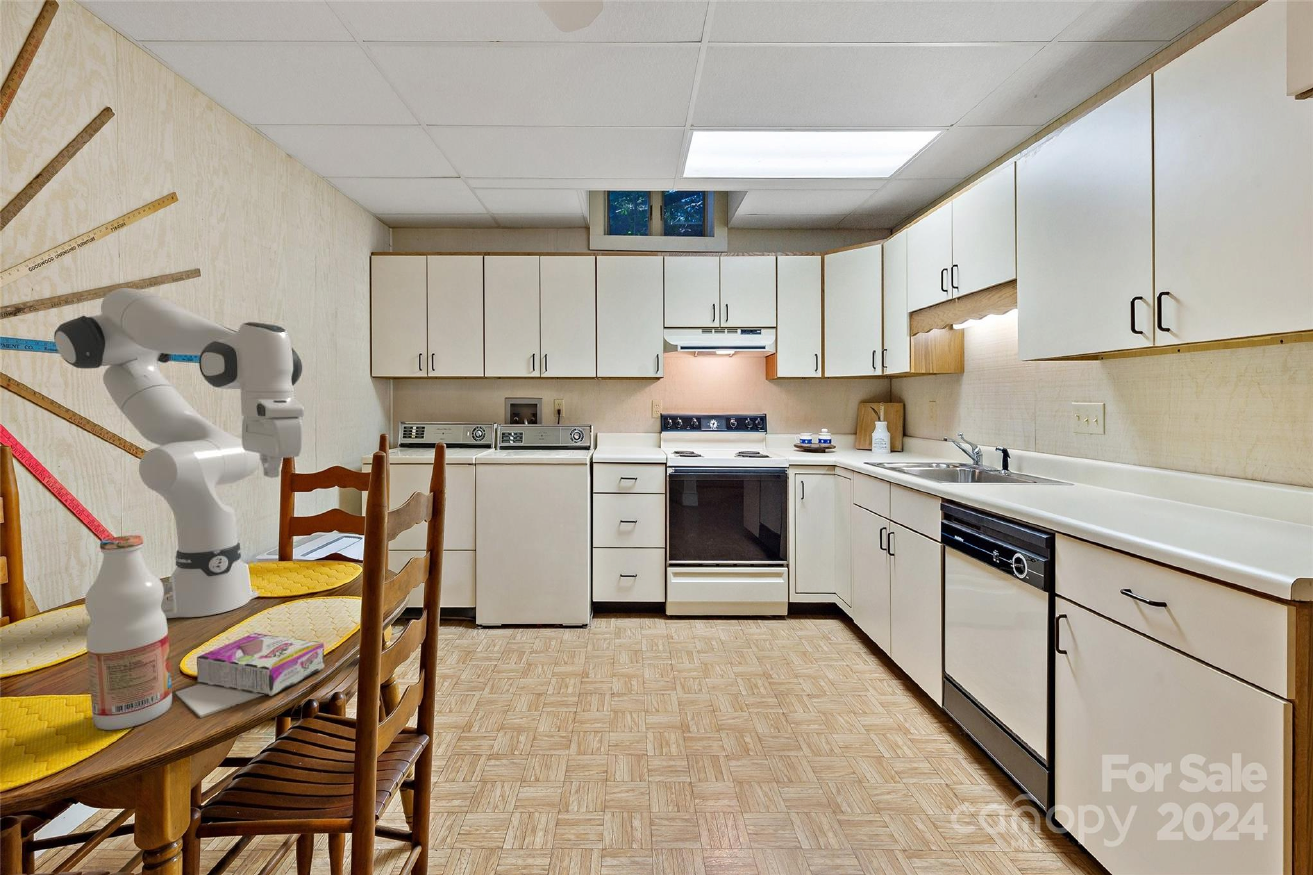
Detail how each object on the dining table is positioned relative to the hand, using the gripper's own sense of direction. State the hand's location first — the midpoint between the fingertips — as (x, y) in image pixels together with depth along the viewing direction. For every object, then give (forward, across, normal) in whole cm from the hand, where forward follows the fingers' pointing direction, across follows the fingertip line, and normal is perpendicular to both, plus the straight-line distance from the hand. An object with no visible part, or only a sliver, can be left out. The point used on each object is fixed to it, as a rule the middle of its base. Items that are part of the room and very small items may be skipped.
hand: (271, 476), depth 119 cm
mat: (+33, +16, -12) cm, 39 cm away
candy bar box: (+30, +8, -11) cm, 33 cm away
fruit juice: (+34, +13, -25) cm, 44 cm away
